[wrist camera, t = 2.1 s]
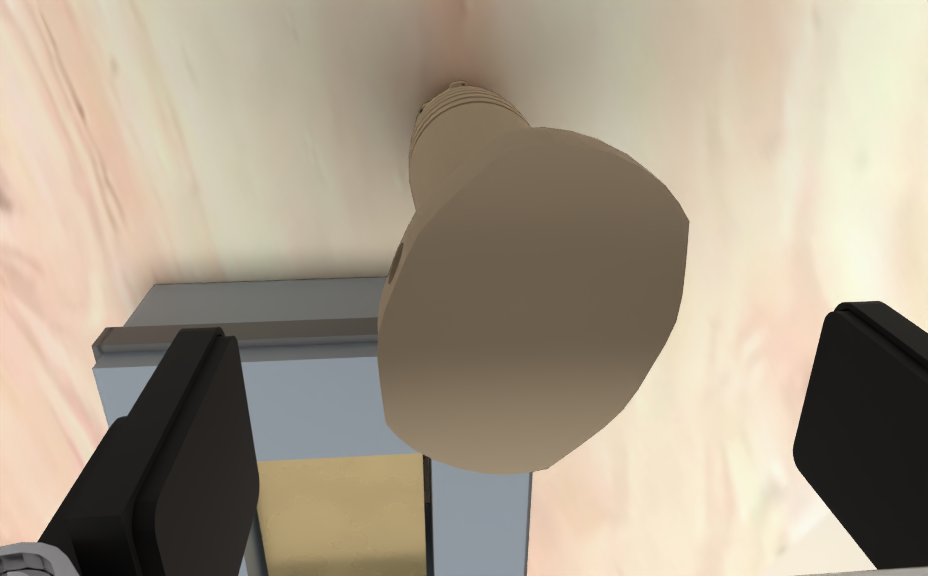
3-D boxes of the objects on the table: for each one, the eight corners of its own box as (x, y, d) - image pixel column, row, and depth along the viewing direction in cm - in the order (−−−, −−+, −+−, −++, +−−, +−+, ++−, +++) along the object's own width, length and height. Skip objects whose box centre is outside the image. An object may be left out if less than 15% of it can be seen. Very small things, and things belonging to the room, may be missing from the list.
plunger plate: (250, 425, 26) (245, 441, 25) (421, 416, 26) (421, 432, 26) (274, 566, 29) (270, 585, 28) (425, 556, 30) (426, 575, 29)
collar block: (144, 278, 27) (80, 360, 21) (517, 265, 28) (545, 341, 22) (212, 582, 34) (177, 700, 29) (506, 563, 35) (525, 673, 30)
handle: (368, 181, 26) (334, 435, 12) (430, 10, 23) (471, 96, 10) (486, 224, 27) (572, 498, 14) (557, 65, 25) (747, 209, 11)
